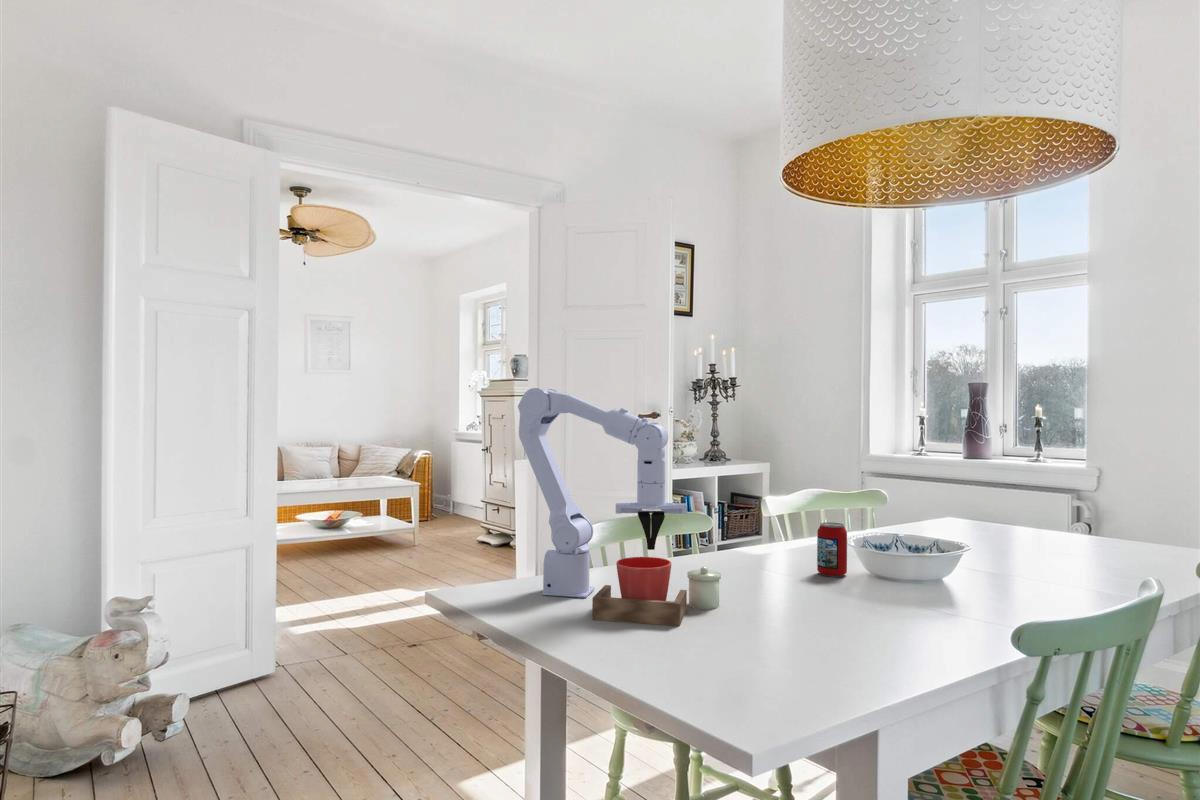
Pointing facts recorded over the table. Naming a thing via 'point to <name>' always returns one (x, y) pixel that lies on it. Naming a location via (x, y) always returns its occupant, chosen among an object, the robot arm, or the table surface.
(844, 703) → the table surface
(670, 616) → the wooden tray
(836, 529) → the beverage can
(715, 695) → the table surface
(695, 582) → the green jar
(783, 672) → the table surface
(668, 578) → the flower pot
